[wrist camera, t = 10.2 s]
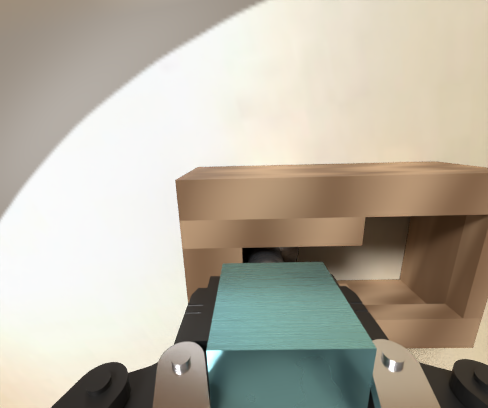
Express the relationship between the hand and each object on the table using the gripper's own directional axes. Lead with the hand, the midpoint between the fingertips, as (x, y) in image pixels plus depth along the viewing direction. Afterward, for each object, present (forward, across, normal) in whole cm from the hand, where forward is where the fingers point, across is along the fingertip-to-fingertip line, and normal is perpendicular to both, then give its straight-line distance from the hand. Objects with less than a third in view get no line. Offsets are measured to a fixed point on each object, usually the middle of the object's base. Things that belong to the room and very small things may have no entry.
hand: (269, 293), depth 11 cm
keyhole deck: (+7, -4, 0) cm, 8 cm away
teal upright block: (+6, 0, 0) cm, 6 cm away
